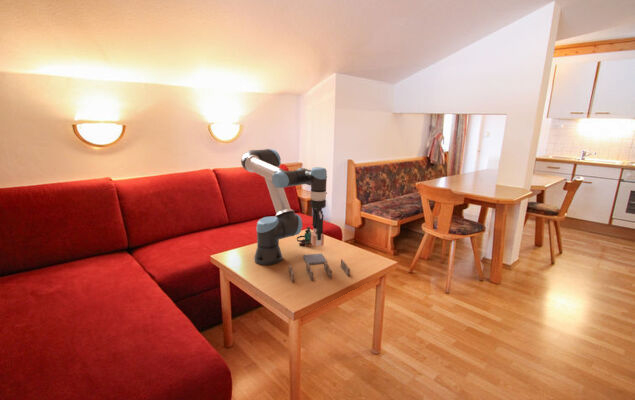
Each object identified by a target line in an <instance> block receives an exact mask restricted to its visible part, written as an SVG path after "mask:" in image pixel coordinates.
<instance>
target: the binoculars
mask: <svg viewBox="0 0 635 400" xmlns="http://www.w3.org/2000/svg"><path fill="white" fill-rule="evenodd" d="M304 232H305V233H304V235H300V236H297V237H296V241H297V243H298V242H299V244H298V245H299V246H306V247H311V245H312V243H311V232H312V231H311V227H310V226H307V227H306V229H305V230H304ZM300 238H303V239H302V240H300Z"/></svg>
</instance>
